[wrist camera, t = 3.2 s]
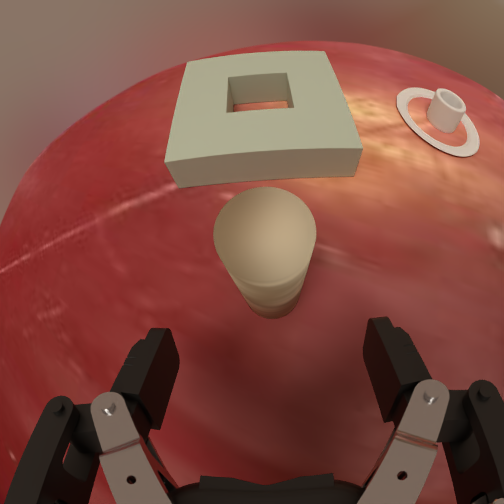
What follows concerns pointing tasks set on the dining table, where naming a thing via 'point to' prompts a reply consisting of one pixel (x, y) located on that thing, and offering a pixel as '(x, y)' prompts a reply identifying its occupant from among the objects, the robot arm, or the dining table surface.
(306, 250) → the birch peg
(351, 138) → the square hole plate
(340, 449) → the dining table surface
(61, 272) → the dining table surface
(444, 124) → the candle holder
